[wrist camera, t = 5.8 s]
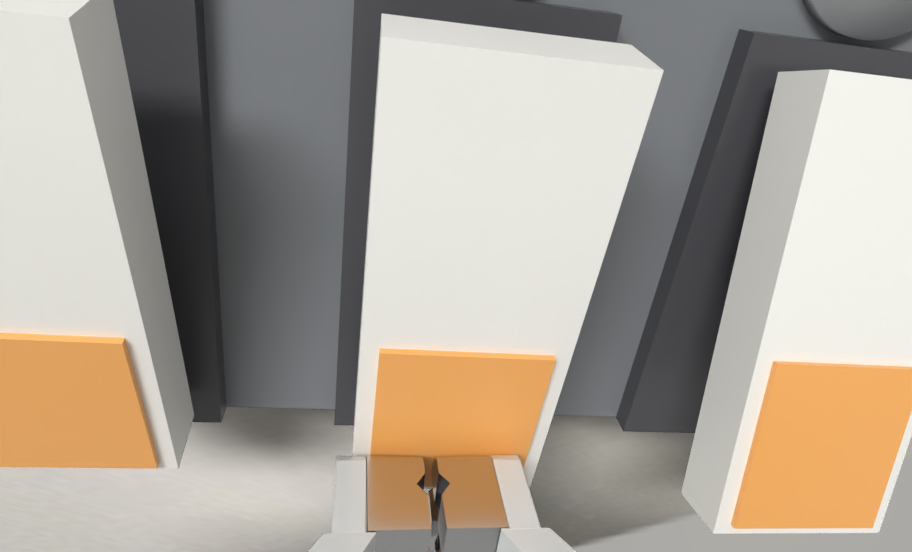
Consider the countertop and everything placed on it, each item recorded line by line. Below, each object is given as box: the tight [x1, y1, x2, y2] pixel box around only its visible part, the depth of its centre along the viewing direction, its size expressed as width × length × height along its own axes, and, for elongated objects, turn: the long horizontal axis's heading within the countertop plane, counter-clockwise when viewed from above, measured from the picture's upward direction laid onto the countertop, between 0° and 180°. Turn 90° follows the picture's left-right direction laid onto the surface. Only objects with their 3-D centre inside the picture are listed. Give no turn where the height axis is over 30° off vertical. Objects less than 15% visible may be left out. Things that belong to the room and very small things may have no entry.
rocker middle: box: [352, 13, 664, 489], centre depth 10 cm, size 3×8×1 cm, turn 173°
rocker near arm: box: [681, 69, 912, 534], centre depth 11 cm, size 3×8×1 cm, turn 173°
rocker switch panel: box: [113, 0, 912, 433], centre depth 12 cm, size 28×13×4 cm, turn 83°
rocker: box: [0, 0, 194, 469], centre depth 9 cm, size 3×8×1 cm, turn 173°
